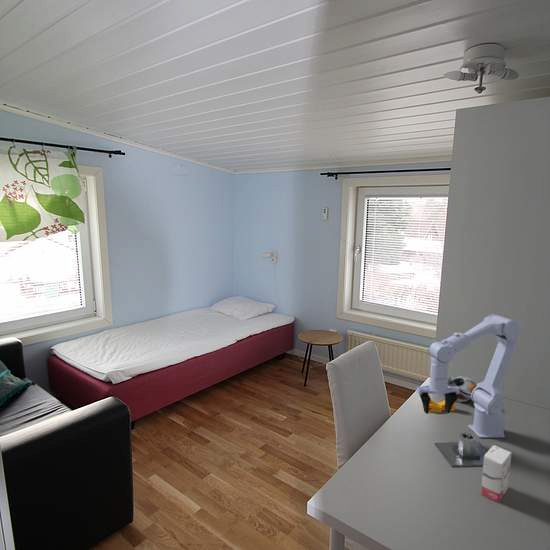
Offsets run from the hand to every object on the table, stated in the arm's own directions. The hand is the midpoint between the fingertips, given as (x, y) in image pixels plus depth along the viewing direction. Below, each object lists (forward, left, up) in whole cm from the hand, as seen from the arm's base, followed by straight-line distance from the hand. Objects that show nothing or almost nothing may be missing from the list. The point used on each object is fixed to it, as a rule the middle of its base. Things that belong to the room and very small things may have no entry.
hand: (436, 412), depth 133 cm
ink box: (-5, +27, -10) cm, 29 cm away
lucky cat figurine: (-26, -29, -10) cm, 40 cm away
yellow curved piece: (-11, -20, -10) cm, 25 cm away
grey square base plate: (-6, +10, -10) cm, 15 cm away
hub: (-6, +10, -8) cm, 14 cm away
